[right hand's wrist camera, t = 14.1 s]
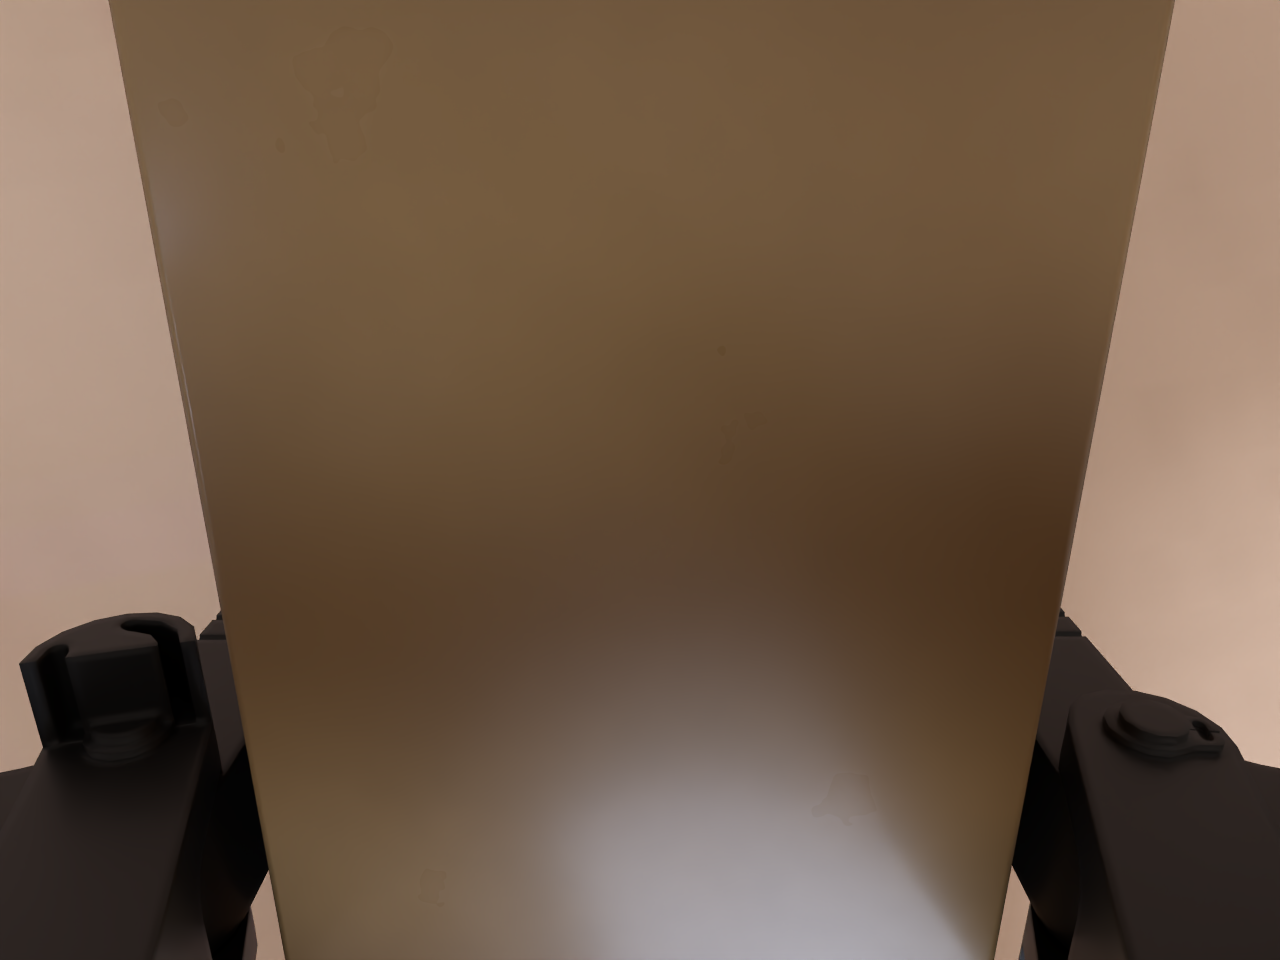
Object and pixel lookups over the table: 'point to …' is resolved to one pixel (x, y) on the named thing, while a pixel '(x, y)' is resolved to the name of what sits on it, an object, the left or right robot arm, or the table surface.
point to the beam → (640, 447)
